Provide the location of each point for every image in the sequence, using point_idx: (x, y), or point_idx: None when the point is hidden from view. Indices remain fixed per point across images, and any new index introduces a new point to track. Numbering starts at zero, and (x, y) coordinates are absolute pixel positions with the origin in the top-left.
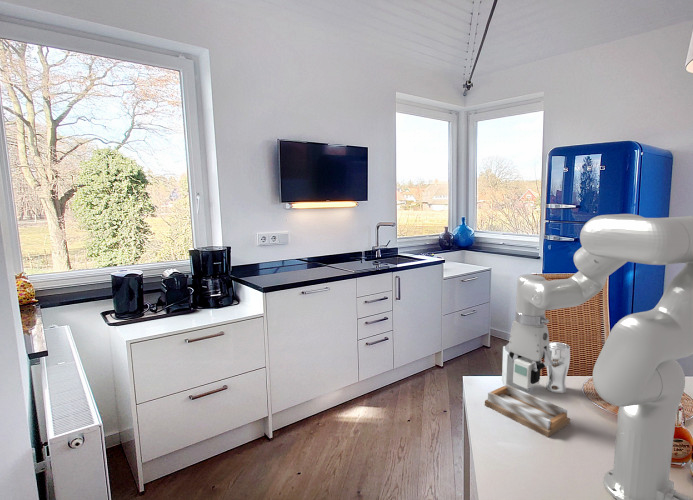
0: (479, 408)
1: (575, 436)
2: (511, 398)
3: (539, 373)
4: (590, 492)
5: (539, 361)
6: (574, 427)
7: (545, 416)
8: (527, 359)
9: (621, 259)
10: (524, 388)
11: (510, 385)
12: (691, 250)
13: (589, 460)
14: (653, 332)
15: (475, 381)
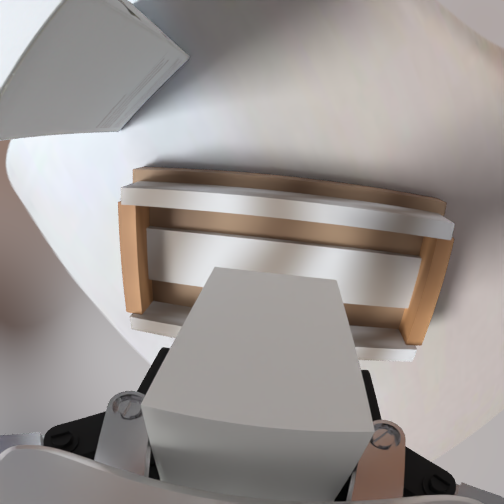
0: (153, 337)
1: (466, 268)
2: (194, 239)
3: (374, 413)
4: (486, 420)
5: (381, 498)
6: (454, 212)
7: (375, 277)
8: (238, 485)
9: None
10: (170, 69)
11: (119, 117)
12: None
13: (496, 346)
14: None
15: (26, 172)
